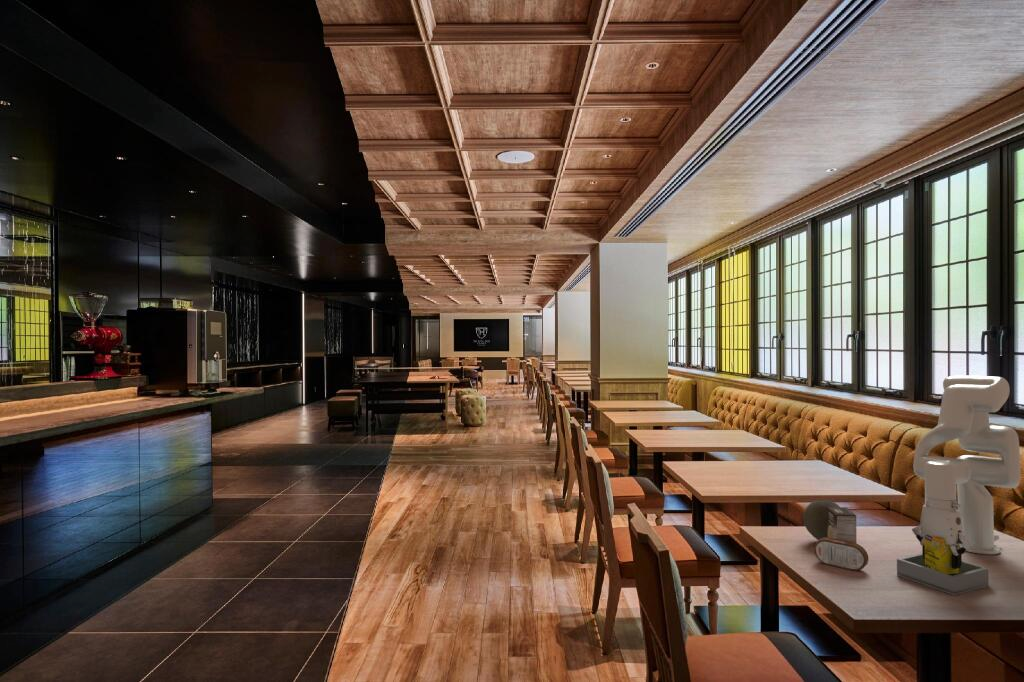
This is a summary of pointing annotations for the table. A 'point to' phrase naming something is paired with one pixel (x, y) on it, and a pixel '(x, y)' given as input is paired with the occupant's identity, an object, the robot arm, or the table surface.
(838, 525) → the coffee box
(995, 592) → the table surface
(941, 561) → the supplement box
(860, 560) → the tin
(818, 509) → the smooth river stone
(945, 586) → the tote
